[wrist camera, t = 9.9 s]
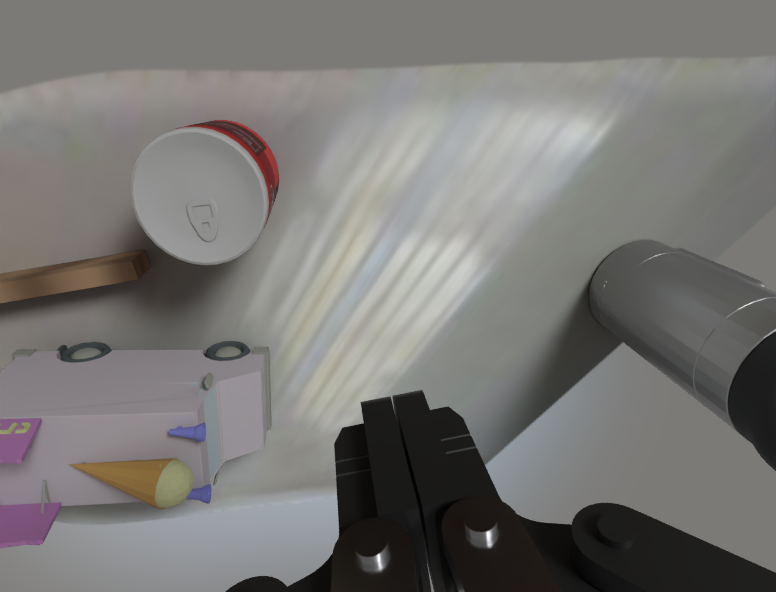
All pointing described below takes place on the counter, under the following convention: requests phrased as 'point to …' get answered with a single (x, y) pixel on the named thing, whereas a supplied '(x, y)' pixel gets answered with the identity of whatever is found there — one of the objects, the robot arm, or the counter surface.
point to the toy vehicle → (122, 427)
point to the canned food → (205, 191)
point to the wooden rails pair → (72, 276)
